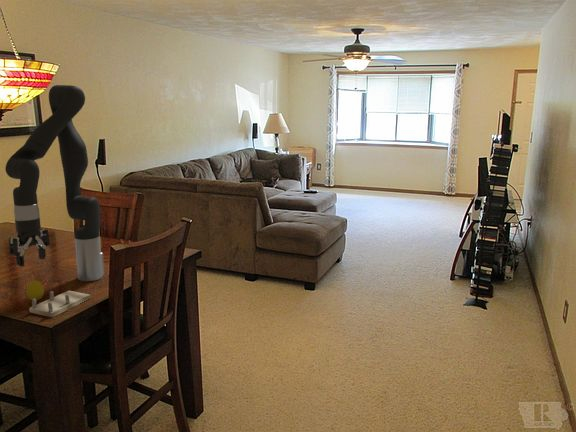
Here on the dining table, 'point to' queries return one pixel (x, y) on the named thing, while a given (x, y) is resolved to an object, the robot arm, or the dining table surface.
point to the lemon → (35, 290)
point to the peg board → (58, 303)
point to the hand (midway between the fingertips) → (31, 262)
